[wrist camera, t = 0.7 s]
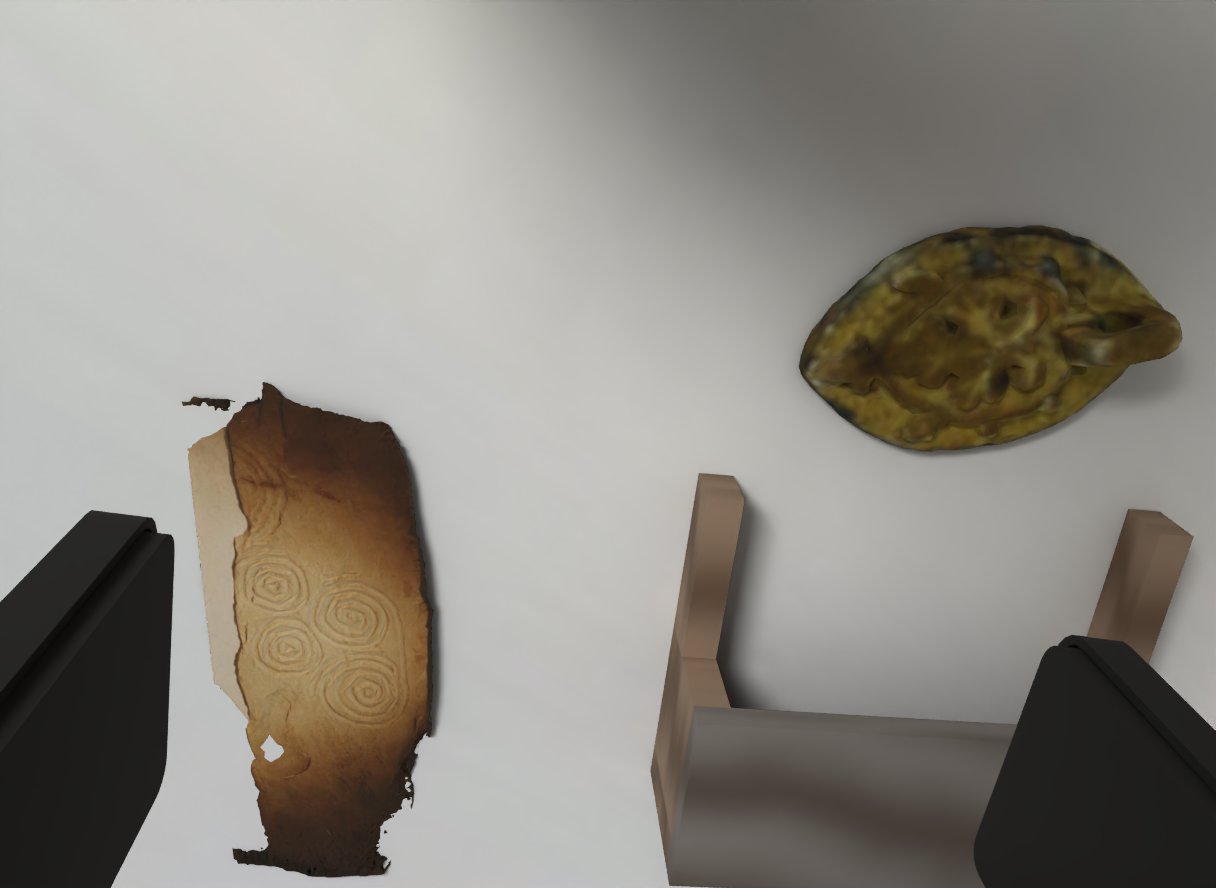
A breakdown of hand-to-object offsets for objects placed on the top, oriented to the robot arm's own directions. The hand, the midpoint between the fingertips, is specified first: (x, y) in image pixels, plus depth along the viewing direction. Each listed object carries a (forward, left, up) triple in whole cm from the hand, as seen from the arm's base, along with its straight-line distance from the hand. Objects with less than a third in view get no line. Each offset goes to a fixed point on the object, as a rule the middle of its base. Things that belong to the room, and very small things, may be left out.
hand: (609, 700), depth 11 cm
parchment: (+20, -8, -31) cm, 38 cm away
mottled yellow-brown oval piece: (+3, +18, -31) cm, 36 cm away
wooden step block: (+17, +18, -31) cm, 40 cm away
